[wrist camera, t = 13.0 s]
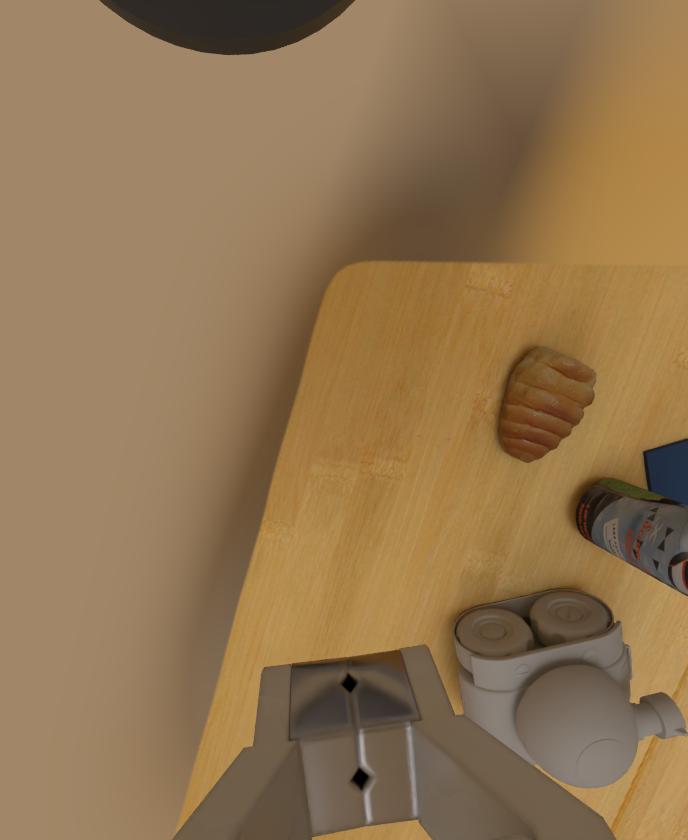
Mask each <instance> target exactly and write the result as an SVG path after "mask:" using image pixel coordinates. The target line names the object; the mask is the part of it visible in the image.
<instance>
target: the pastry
mask: <svg viewBox="0 0 688 840" xmlns="http://www.w3.org/2000/svg"><path fill="white" fill-rule="evenodd" d="M595 382H596V372H595V371H594V370H593V369H591V368H589V367H587V366H586V365H584V364H582V363H580V362H579V361H577V360H574V359H571V358H566V357H565V356H564V355H561V354H557V353H555V352H553V351H552V350H550V349H547V348H546V347H536V348H535V349H533V350H532V351H531V352H529V353H528V354H527V355H526V356H525V358H524V359H523V360H522V361H521V362H520V363H519V364H518V365H517V366H516V367H515V369H514V371H513V373H512V375H511V377H510V379H509V383H508V387H507V389H506V394H505V397H504V401H503V407H502V411H501V416H500V422H499V428H498V432H499V439H500V444H501V446H502V448H503V450H504V451H505V452H506V453H507V454H509V455H511V456H513V457H515V458H518V459H520V460H521V461H523V462H526V463H529V462H532V461H534V460H537V459H540V458H542V457H543V456H544V455H545V454H547V453H548V452H549V451H551V450H554V449H556V448H557V447H558V445H559V442H560V441H561V440H562V439H563V438H565V437H567V436H569V435H570V434H571V430H572V428H573V427H574V426H576V425H578V424H579V422H580V420H581V419H582V418H583V416H584V411H583V409H584V408H585V407H586V406H589V405H591V404H592V402H593V399H594V396H595V394H594V390H593V386H594V384H595Z"/></svg>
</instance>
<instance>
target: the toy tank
mask: <svg viewBox="0 0 688 840" xmlns="http://www.w3.org/2000/svg"><path fill="white" fill-rule="evenodd" d="M528 616H530V623H531V629H532V631H533V633H532V631H531V629H530V627H529V626H528V625H527V624H526V622H525V621H524V620H523V619H522V618H523V617H528ZM453 635H454V642H455V649H456V655H457V657H458V660H459V662H460V663H461V664H462V665H461V666H460V668H459V669H458V679H459V685H460V691H461V697H462V704H463V710H464V715H465V716H467V717H468V718H469V719H471V720H472V721H474V722H475V723H476V724H478V725H479V726H480V727H482V728H483V729H484V730H486V731H487V732H488V733H490V734H491V735H492V736H494V737H495V738H496V739H498V740H499V741H501V742H502V743H503V744H505V745H506V746H507V747H509V748H510V749H511V750H513V751H514V752H515V753H517V754H518V755H519V756H521V757H522V758H523V759H525V760H526V761H528V762H529V763H530V764H532V765H537V764H538V765H539V766H540V767H541V768H542V769H543V770H544V771H546V772H547V773H548V774H550V775H551V776H553V777H554V778H556V779H558V780H559V781H561V782H564V783H566V784H569V785H572V786H575V787H580V788H600V787H604V786H607V785H610V784H612V783H614V782H616V781H617V780H619V779H620V778H621V777H622V776H623V775H624V774H625V773H626V772H627V771H628V769H629V768H630V766H631V765H632V763H633V761H634V758H635V755H636V751H637V746H638V741H639V740H643V739H644V737H646V736H650V735H654V734H655V735H656V736H657V737H659V738H661V739H667V738H671V737H675V736H679V735H683V736H688V733H687V732H686V725H685V721H684V718H683V716H682V714H681V712H680V710H679V708H678V707H677V705H676V704H675V702H674V701H673V700H672V699H671V698H670V697H669V696H668V695H667V694H665V693H663V692H659V693H655V694H651V695H647V696H643V697H641V698H640V704H635V703H630V702H629V700H630V680H631V679H632V665H631V650H630V646H629V645H625V644H624V642H623V641H622V627H621V621H616V623H614V616H613V613H612V611H611V609H610V608H609V606H608V605H607V604H606V603H604V602H603V601H602V600H600V599H599V598H597V597H595V596H593V595H591V594H588V593H585V592H582V591H577V590H570V589H556V590H550V591H545V592H541V593H536V594H532V595H528V596H523V597H519V598H514V599H510V600H506V601H501V602H497V603H492V604H488V605H484V606H479V607H475V608H472V609H470V610H468V611H466V612H464V613H463V614H461V615H460V616H459V617H458V618H457V620H456V621H455V623H454V626H453ZM626 648H627V649H626Z"/></svg>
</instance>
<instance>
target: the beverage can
mask: <svg viewBox="0 0 688 840" xmlns="http://www.w3.org/2000/svg"><path fill="white" fill-rule="evenodd" d="M576 524H577V527H578V530H579V532H580V533H581V535H582V536H583V537H584V538H585V539H587V540H588V541H590V542H592V543H593V544H595V545H597V546H599V547H600V548H602V549H604V550H606V551H608V552H609V553H611V554H613V555H615V556H616V557H618V558H620V559H622V560H624V561H625V562H627V563H629V564H631V565H632V566H634V567H636V568H638V569H640V570H641V571H643V572H645V573H647V574H648V575H650V576H652V577H654V578H655V579H657V580H659V581H661V582H663V583H664V584H666V585H668V586H670V587H671V588H673V589H675V590H677V591H679V592H680V593H682V594H684V595H686V596H688V505H686V504H683V503H680V502H678V501H675V500H672V499H669V498H667V497H664V496H661V495H658V494H656V493H653V492H650V491H647V490H645V489H642V488H639V487H636V486H634V485H631V484H628V483H625V482H623V481H620V480H617V479H603V480H601V481H598V482H596V483H595V484H593V485H592V486H590V487H589V488H588V489H587V490H586V491H585V493H584V494H583V495H582V497H581V499H580V501H579V503H578V506H577V510H576Z"/></svg>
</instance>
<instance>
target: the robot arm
mask: <svg viewBox="0 0 688 840" xmlns="http://www.w3.org/2000/svg"><path fill="white" fill-rule="evenodd" d="M418 819H419V823H420V825H421V826H422V827H423V828H424V830H425V831H426V832H427V833H428V835H429V836H430V837H431V838H432V840H616V838H615V836H614V835H613V833H612V832H611V830H610V828H609V827H608V825H607V823H606V822H605V820H604V818H603V817H602V816H600V815H599V814H598V813H596V812H595V811H594V810H592V809H591V808H590V807H588V806H587V805H586V804H584V803H583V802H582V801H580V800H579V799H577V798H576V797H575V796H573V795H572V794H571V793H569V792H568V791H567V790H565V789H564V788H563V787H561V786H560V785H559V784H557V783H556V782H555V781H553V780H552V779H550V778H549V777H548V776H546V775H545V774H544V773H542V772H541V771H540V770H538V769H537V768H536V767H534V766H533V765H532V764H530V763H529V762H528V761H526V760H525V759H523V758H522V757H521V756H519V755H518V754H517V753H515V752H514V751H513V750H511V749H510V748H509V747H507V746H506V745H505V744H503V743H502V742H501V741H499V740H498V739H496V738H495V737H494V736H492V735H491V734H490V733H488V732H487V731H486V730H484V729H483V728H482V727H480V726H479V725H478V724H476V723H475V722H474V721H472V720H471V719H469V718H468V717H467V716H465V715H464V714H463V715H456V716H455V713H454V711H453V708H452V706H451V703H450V701H449V698H448V696H447V693H446V691H445V688H444V686H443V683H442V680H441V678H440V675H439V673H438V670H437V668H436V665H435V663H434V660H433V658H432V655H431V653H430V650H429V648H428V647H427V646H426V645H425V644H424V645H418V646H412V647H406V648H400V649H399V650H393V651H386V652H379V653H372V654H365V655H359V656H352V657H343V658H334V659H326V660H317V661H309V662H300V663H292V665H291V664H286V665H278V666H270V667H264V669H263V671H262V673H261V682H260V690H259V699H258V708H257V716H256V725H255V733H254V742H253V746H252V747H246V748H244V749H243V750H242V751H241V752H240V754H239V755H238V756H237V757H236V759H235V760H234V761H233V763H232V764H231V765H230V766H229V768H228V769H227V770H226V771H225V773H224V774H223V775H222V777H221V778H220V779H219V780H218V782H217V783H216V784H215V786H214V787H213V788H212V789H211V791H210V792H209V793H208V794H207V796H206V797H205V798H204V800H203V801H202V802H201V803H200V805H199V806H198V807H197V808H196V810H195V811H194V812H193V814H192V815H191V816H190V817H189V819H188V820H187V821H186V822H185V824H184V825H183V826H182V828H181V829H180V830H179V831H178V833H177V834H176V835H175V836H174V838H173V839H172V840H312V837H315V836H320V835H325V834H330V833H335V832H340V831H345V830H350V829H355V828H360V827H365V826H372V825H380V824H387V823H395V822H402V821H410V820H418Z"/></svg>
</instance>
